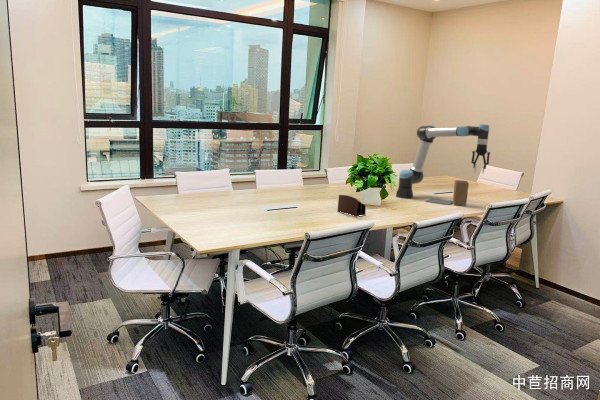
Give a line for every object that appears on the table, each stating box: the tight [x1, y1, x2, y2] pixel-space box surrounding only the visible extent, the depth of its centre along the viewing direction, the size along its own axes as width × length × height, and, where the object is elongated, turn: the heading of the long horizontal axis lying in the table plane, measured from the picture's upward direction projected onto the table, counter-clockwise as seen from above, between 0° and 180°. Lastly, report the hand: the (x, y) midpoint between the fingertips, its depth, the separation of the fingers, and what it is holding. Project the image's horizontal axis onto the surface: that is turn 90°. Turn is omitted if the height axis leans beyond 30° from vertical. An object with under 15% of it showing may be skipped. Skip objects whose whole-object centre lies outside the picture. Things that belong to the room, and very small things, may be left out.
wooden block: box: [452, 179, 469, 207], centre depth 386 cm, size 10×10×20 cm
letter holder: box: [337, 194, 367, 217], centre depth 346 cm, size 10×20×14 cm, turn 40°
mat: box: [425, 197, 453, 206], centre depth 397 cm, size 20×16×1 cm
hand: (478, 172), depth 376 cm, fingers open, 6 cm apart
